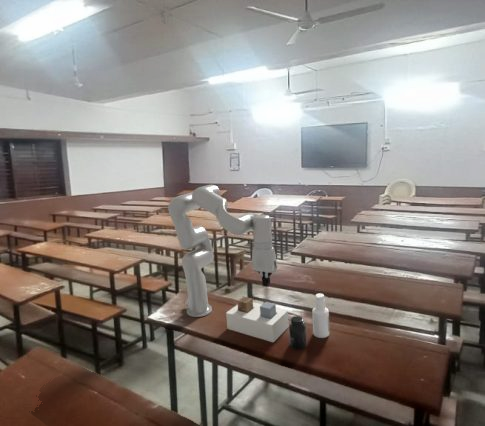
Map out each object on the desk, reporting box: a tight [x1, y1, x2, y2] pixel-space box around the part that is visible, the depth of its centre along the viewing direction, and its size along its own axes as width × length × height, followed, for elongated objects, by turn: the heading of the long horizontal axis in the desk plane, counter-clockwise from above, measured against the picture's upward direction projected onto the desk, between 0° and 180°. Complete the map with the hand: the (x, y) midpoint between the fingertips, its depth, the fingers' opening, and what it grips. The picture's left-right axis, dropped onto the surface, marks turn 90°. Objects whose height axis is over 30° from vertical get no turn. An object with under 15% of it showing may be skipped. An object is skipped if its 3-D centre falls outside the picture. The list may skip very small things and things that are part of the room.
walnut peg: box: [236, 296, 254, 313], centre depth 169 cm, size 5×5×6 cm
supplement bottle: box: [288, 315, 307, 351], centre depth 150 cm, size 7×7×12 cm
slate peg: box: [260, 301, 277, 319], centre depth 162 cm, size 5×5×6 cm
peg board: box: [225, 301, 290, 343], centre depth 166 cm, size 24×14×8 cm, turn 55°
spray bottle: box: [311, 293, 330, 339], centre depth 156 cm, size 7×7×18 cm
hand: (266, 285), depth 159 cm, fingers closed
